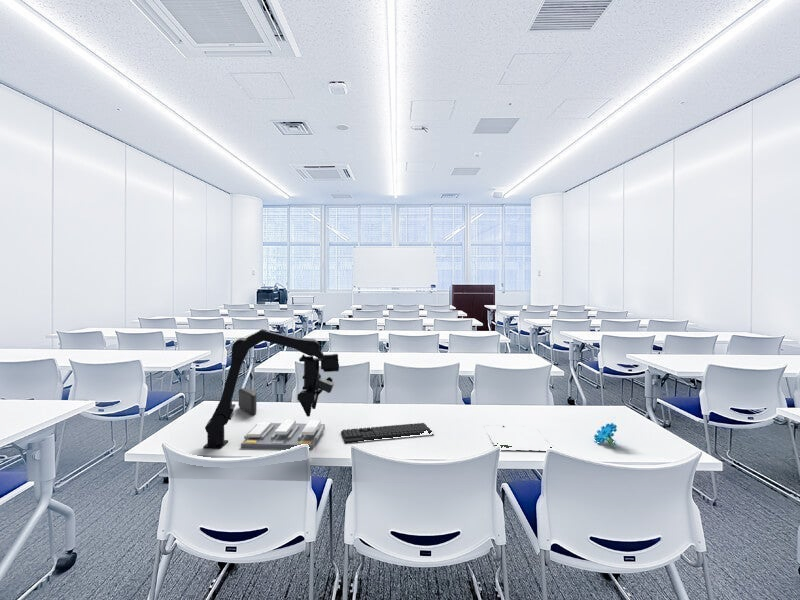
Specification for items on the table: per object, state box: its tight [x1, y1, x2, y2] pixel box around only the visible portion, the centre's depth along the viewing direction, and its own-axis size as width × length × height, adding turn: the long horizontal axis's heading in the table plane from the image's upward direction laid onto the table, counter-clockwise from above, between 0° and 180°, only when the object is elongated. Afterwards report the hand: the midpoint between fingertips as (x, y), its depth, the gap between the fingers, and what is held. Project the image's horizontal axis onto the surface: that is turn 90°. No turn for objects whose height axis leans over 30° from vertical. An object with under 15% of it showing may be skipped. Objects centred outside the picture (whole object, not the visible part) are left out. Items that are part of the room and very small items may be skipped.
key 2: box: [302, 419, 322, 435], centre depth 161 cm, size 13×4×1 cm, turn 179°
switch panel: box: [240, 422, 326, 450], centre depth 161 cm, size 22×27×2 cm
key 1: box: [247, 421, 272, 437], centre depth 161 cm, size 13×4×1 cm, turn 179°
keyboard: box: [340, 422, 433, 444], centre depth 166 cm, size 35×11×2 cm, turn 106°
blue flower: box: [593, 422, 618, 447], centre depth 159 cm, size 11×6×10 cm
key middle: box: [275, 419, 297, 435], centre depth 161 cm, size 13×4×1 cm, turn 179°
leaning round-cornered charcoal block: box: [237, 387, 258, 416], centre depth 193 cm, size 16×5×9 cm, turn 42°
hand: (311, 412), depth 161 cm, fingers open, 9 cm apart
